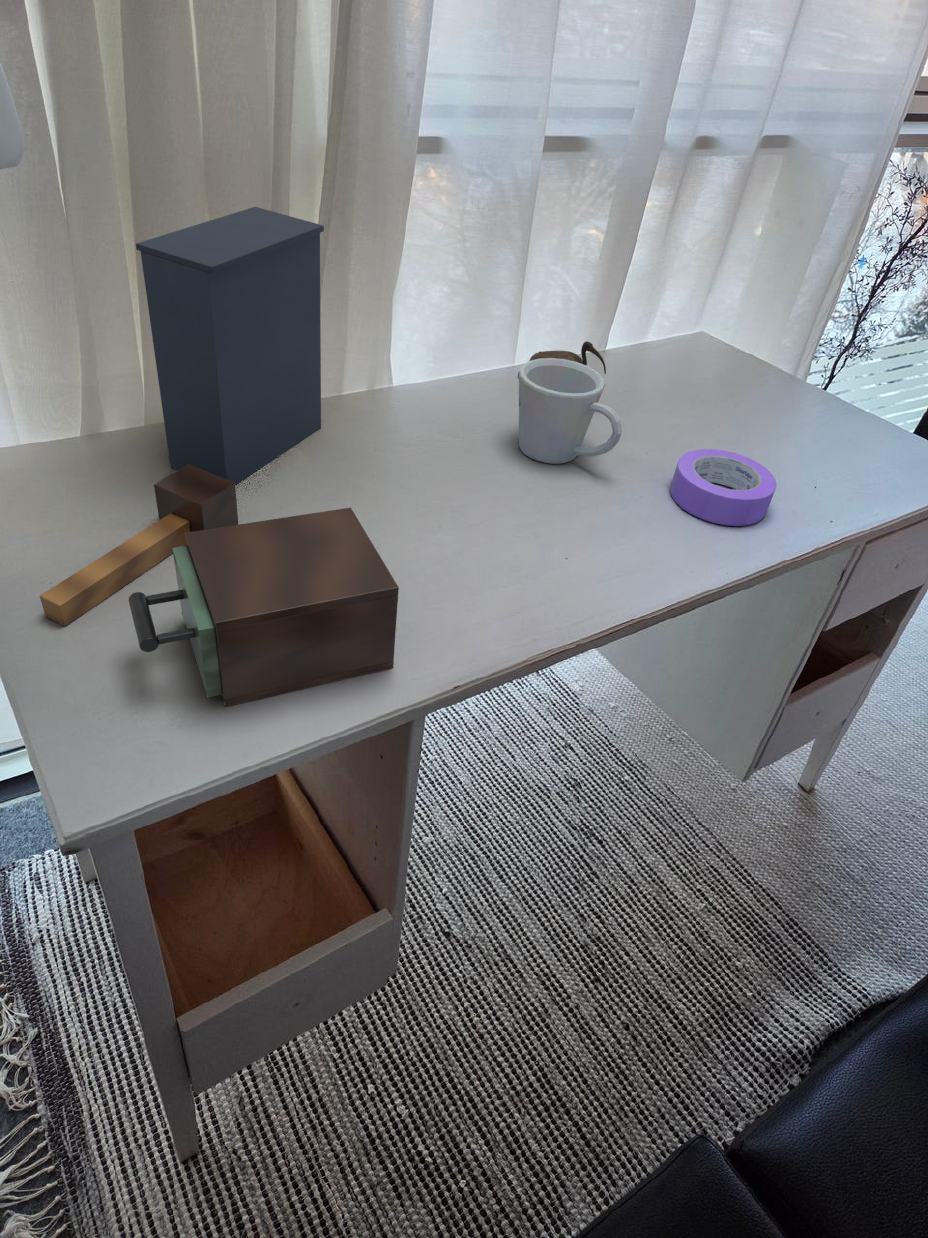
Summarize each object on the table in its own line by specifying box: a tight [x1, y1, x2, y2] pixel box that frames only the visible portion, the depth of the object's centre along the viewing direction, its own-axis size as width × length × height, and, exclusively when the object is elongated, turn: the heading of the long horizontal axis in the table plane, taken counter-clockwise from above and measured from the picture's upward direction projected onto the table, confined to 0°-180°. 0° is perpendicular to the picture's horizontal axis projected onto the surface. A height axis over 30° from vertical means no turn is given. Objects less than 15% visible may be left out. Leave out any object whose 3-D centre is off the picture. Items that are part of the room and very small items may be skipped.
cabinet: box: [185, 507, 400, 708], centre depth 72 cm, size 15×12×9 cm
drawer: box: [128, 545, 222, 698], centre depth 70 cm, size 18×11×7 cm, turn 114°
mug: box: [518, 358, 623, 465], centre depth 102 cm, size 10×15×10 cm
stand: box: [135, 206, 325, 486], centre depth 92 cm, size 18×9×24 cm, turn 153°
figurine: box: [517, 340, 607, 378], centre depth 117 cm, size 14×4×9 cm, turn 40°
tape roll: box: [669, 448, 777, 527], centre depth 100 cm, size 12×12×4 cm
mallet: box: [39, 464, 239, 627], centre depth 79 cm, size 21×6×5 cm, turn 152°
